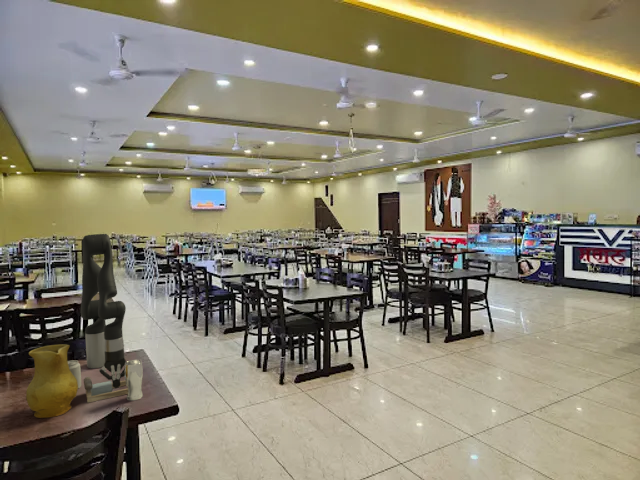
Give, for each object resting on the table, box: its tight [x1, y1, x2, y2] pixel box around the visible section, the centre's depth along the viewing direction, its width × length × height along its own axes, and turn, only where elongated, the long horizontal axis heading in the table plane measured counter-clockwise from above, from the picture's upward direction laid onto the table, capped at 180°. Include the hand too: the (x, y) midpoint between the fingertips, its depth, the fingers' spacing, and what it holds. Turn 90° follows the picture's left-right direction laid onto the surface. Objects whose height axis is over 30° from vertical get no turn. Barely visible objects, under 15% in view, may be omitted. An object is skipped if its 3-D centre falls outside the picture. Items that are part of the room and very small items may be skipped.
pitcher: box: [25, 343, 79, 419], centre depth 166 cm, size 17×19×25 cm
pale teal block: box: [91, 380, 113, 396], centre depth 181 cm, size 6×8×4 cm
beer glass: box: [123, 359, 144, 402], centre depth 176 cm, size 7×7×15 cm
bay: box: [83, 376, 128, 404], centre depth 180 cm, size 11×17×7 cm, turn 122°
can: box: [67, 359, 82, 390], centre depth 185 cm, size 8×8×12 cm
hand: (116, 387), depth 182 cm, fingers closed
